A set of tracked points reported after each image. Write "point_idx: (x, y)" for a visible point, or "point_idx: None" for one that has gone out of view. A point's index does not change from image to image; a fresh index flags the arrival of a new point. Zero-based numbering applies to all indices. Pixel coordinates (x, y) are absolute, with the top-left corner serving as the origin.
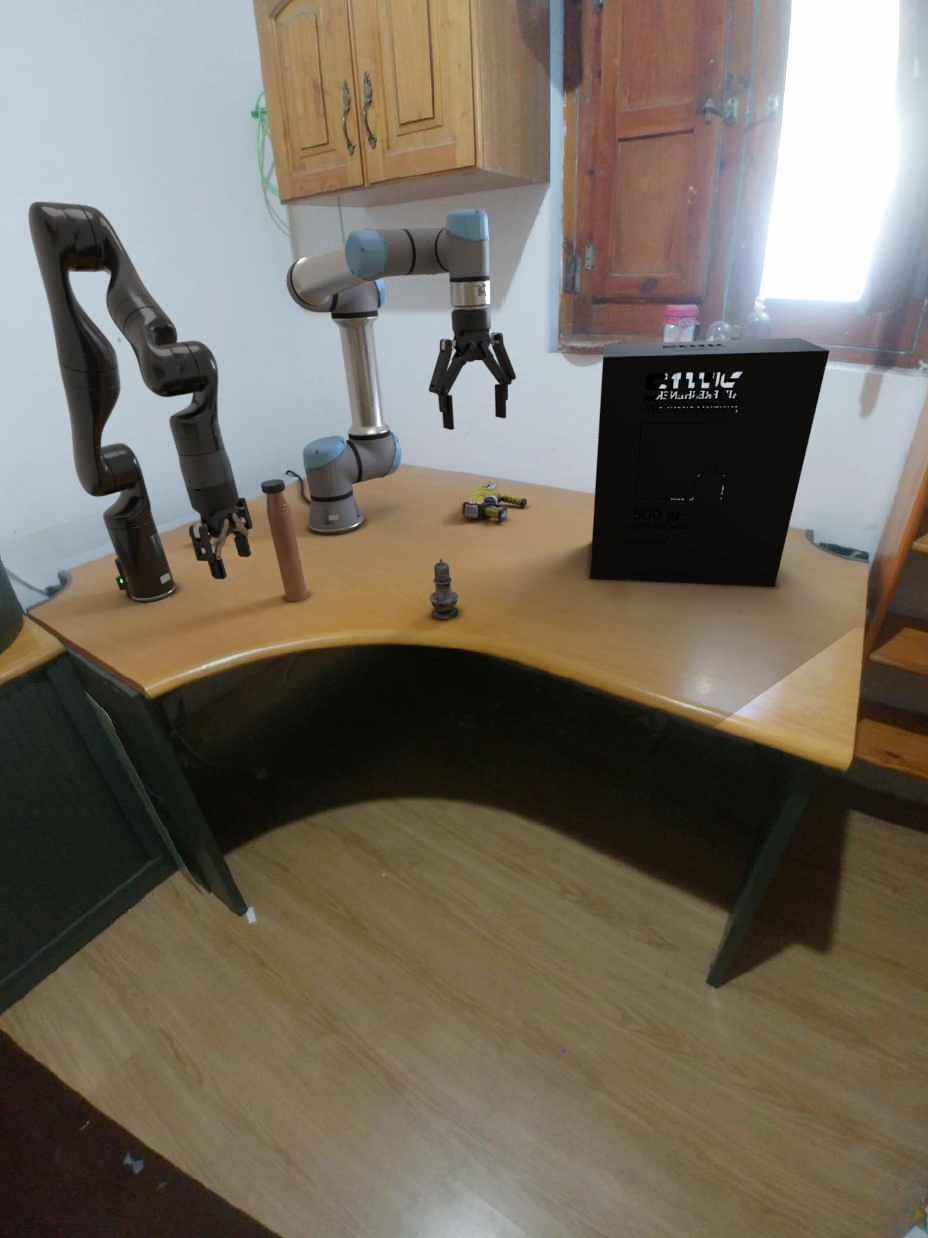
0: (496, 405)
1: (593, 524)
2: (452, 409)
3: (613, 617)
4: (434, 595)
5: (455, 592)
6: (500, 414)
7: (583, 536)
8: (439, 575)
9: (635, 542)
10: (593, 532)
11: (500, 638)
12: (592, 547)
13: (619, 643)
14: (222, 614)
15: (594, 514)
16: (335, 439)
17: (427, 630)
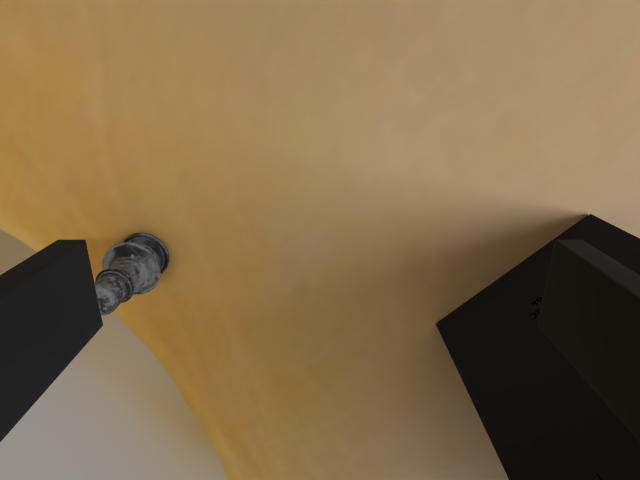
0: (603, 295)
1: (471, 399)
2: (13, 420)
3: (355, 420)
4: (110, 265)
5: (159, 269)
6: (553, 308)
7: (612, 173)
8: None
9: None
10: (466, 386)
11: (182, 366)
12: (455, 363)
13: (307, 461)
14: None
15: (481, 417)
16: None
17: None
